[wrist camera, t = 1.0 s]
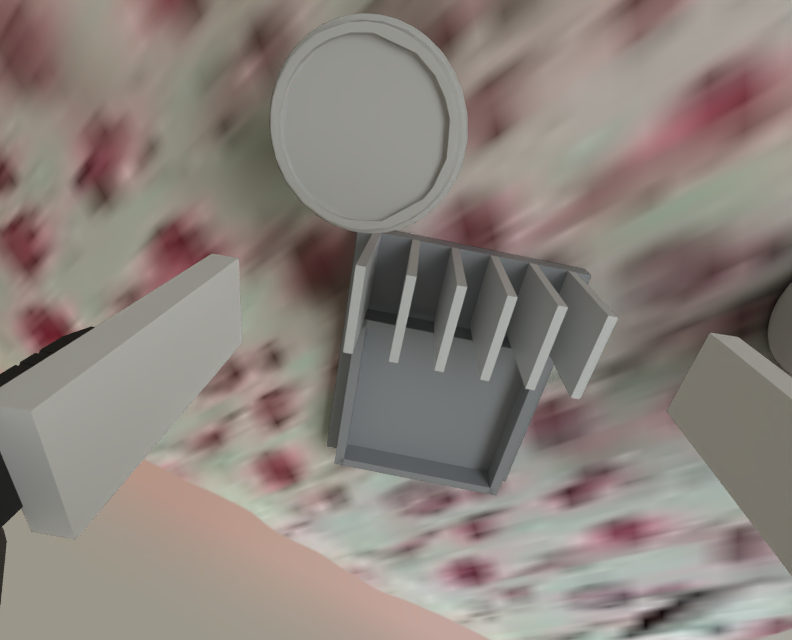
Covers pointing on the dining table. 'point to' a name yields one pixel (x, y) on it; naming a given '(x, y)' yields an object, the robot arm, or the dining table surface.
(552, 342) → the dish rack
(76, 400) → the robot arm
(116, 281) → the dining table surface
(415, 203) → the disposable coffee cup
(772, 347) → the cylinder vase
